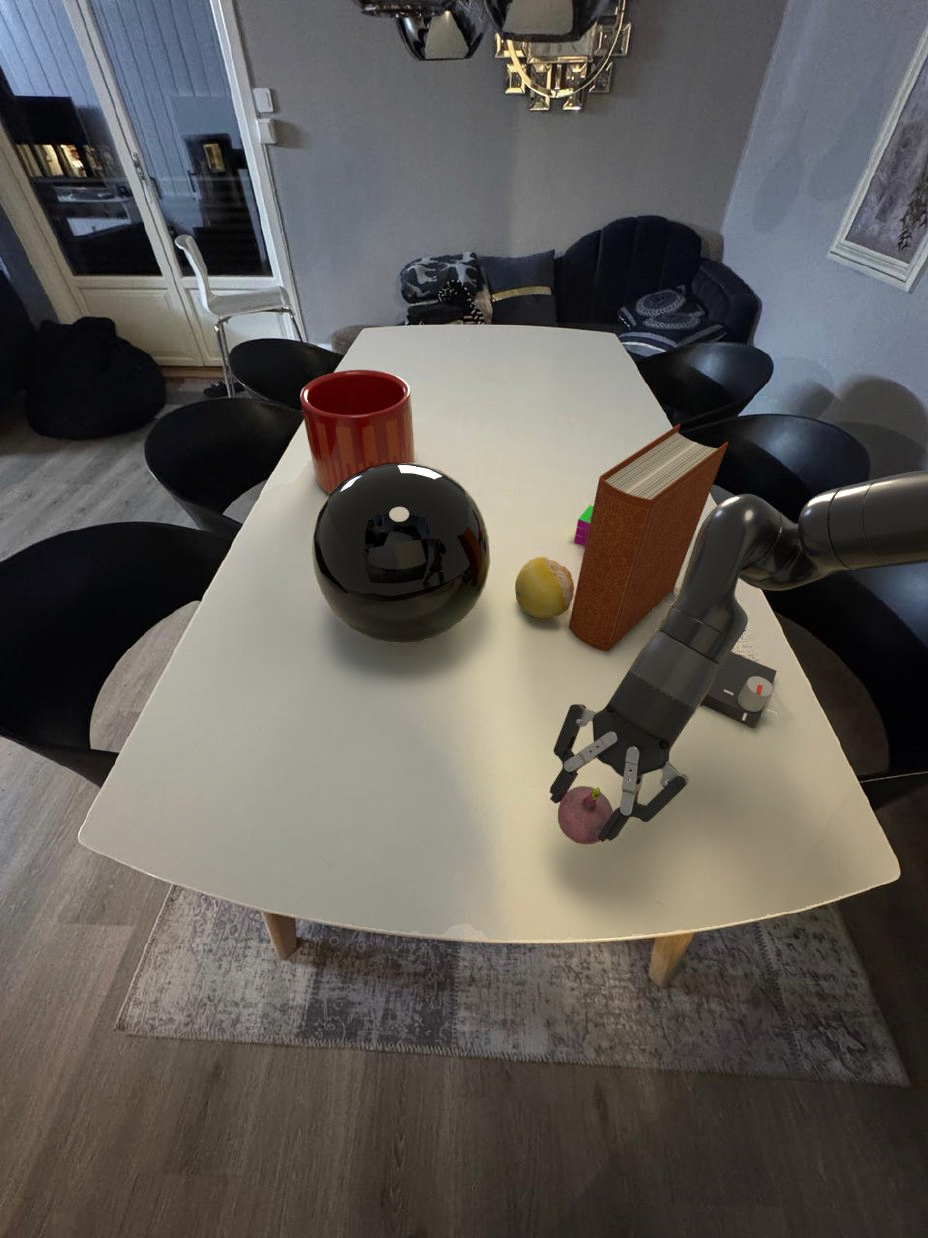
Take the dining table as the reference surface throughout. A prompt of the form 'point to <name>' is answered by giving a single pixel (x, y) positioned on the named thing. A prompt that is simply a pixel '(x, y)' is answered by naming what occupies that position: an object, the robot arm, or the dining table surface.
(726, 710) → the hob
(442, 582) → the ball
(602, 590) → the book
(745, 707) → the burner knob
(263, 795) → the dining table surface
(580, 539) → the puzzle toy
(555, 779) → the robot arm
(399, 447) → the planter
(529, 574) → the fruit
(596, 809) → the vegetable
